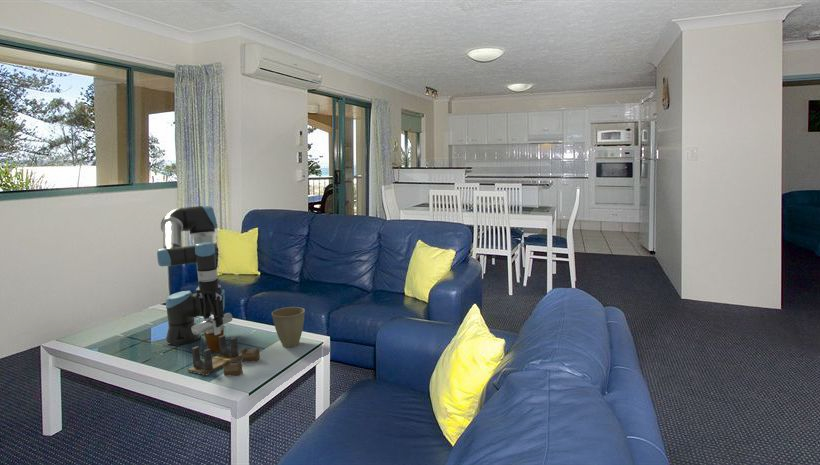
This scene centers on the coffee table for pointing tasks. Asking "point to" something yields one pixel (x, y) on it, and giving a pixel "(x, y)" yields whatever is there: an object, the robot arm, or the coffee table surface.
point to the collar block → (217, 361)
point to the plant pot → (289, 325)
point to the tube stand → (236, 368)
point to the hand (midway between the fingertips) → (213, 333)
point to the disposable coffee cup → (214, 340)
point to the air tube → (209, 324)
